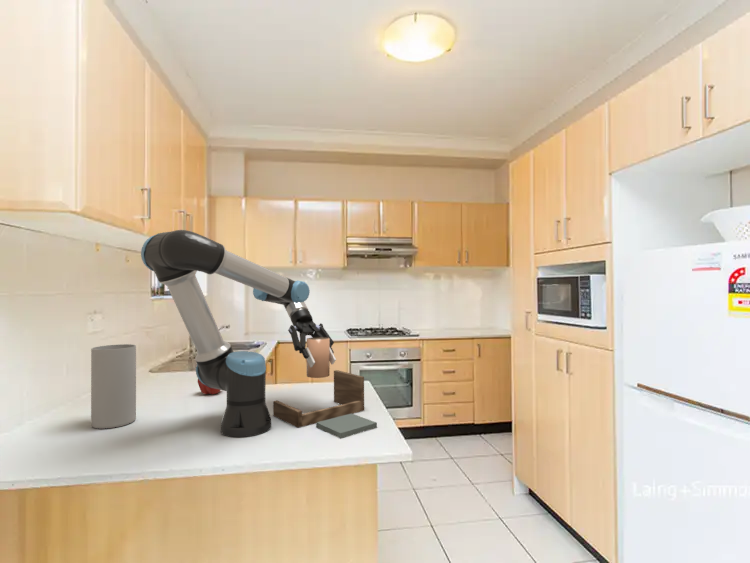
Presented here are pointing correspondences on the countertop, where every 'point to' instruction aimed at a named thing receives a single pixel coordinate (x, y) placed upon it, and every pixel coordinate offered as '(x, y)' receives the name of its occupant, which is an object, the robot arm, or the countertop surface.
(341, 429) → the rubber mat
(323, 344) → the tan upright cylinder
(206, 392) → the vegetable
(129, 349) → the cylinder vase
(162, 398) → the countertop surface
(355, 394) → the brown wooden bracket
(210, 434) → the countertop surface
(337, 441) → the countertop surface
